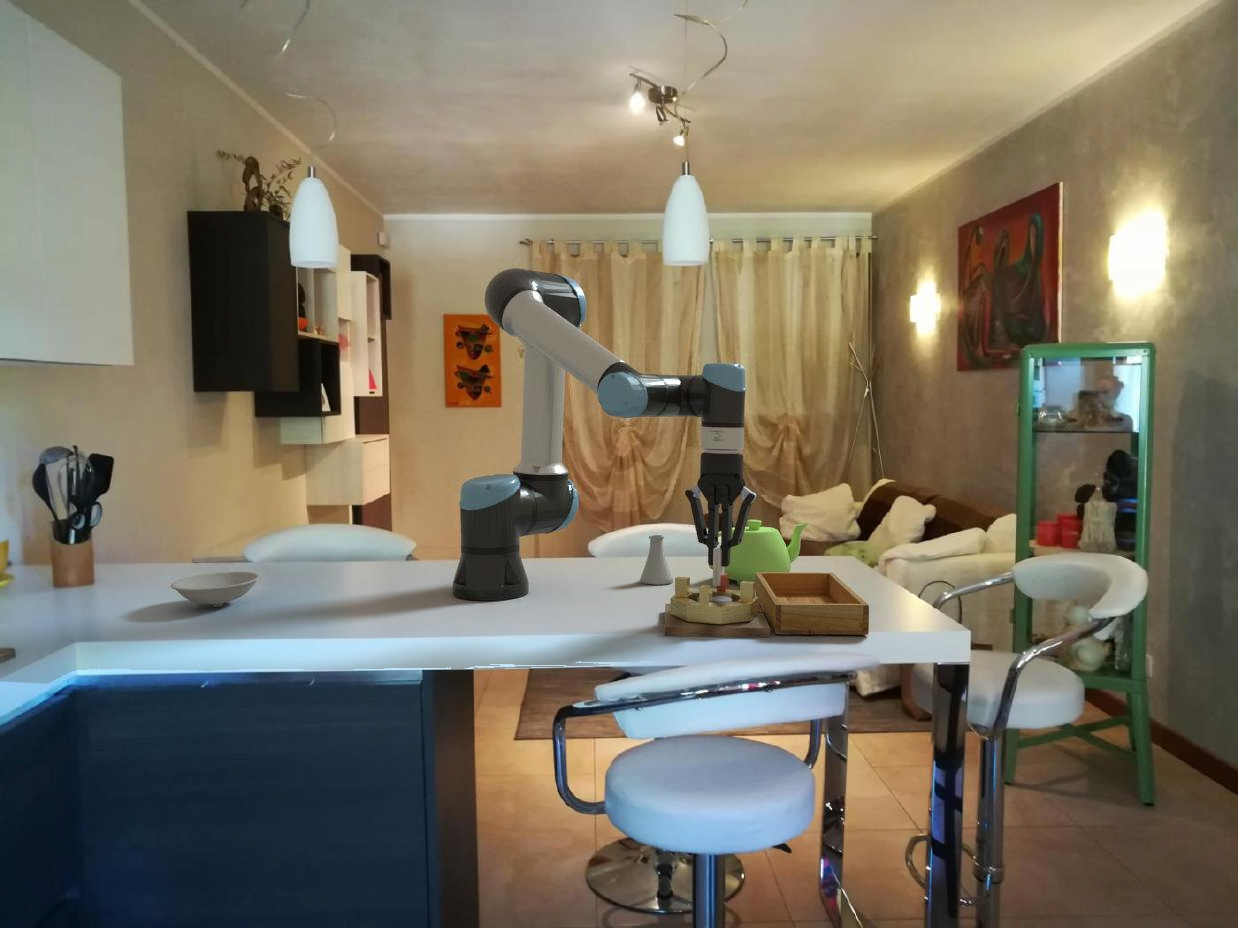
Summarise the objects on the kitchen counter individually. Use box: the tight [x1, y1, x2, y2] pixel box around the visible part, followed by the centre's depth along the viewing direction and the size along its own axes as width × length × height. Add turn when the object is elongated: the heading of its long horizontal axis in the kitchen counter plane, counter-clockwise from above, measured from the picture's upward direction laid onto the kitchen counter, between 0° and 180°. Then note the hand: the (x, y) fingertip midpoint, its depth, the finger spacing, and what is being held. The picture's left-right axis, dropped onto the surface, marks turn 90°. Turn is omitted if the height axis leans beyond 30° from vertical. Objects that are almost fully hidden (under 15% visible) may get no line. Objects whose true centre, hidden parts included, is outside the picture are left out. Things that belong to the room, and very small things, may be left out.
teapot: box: [708, 519, 811, 586], centre depth 190 cm, size 22×15×13 cm
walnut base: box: [664, 595, 771, 638], centre depth 153 cm, size 17×17×4 cm
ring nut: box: [669, 573, 759, 624], centre depth 152 cm, size 14×14×6 cm
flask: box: [639, 534, 674, 586], centre depth 189 cm, size 7×7×10 cm
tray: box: [755, 572, 870, 636], centre depth 159 cm, size 31×15×6 cm, turn 177°
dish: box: [170, 570, 262, 608], centre depth 167 cm, size 18×14×5 cm
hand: (718, 584), depth 158 cm, fingers closed
